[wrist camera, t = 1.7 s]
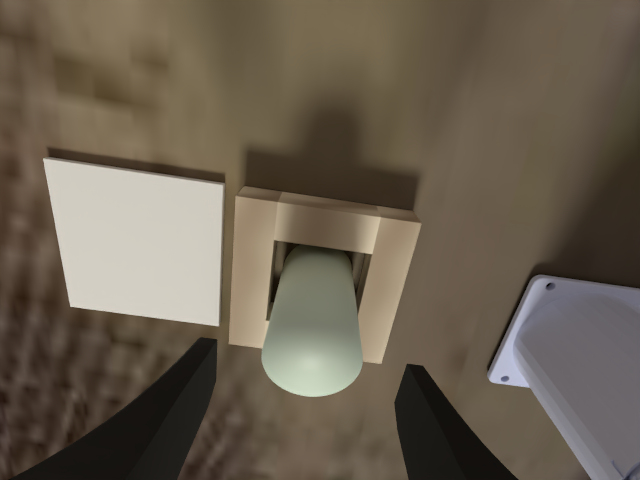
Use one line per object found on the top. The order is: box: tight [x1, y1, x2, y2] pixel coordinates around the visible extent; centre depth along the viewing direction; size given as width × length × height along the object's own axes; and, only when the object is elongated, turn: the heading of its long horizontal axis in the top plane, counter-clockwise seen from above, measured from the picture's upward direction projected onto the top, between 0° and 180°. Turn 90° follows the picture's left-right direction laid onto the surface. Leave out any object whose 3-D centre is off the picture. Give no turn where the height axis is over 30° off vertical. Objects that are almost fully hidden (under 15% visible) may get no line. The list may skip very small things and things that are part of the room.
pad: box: [43, 157, 225, 326], centre depth 19 cm, size 9×9×1 cm
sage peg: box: [262, 244, 363, 397], centre depth 17 cm, size 4×4×7 cm
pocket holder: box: [229, 186, 422, 364], centre depth 19 cm, size 9×9×2 cm
